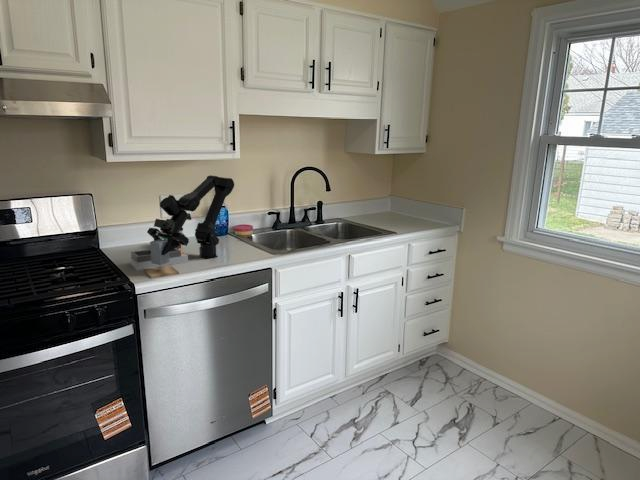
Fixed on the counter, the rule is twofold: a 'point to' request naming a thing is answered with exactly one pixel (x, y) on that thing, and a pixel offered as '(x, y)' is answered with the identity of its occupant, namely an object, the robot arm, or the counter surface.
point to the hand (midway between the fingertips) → (157, 253)
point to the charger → (159, 252)
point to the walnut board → (160, 271)
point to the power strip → (144, 258)
